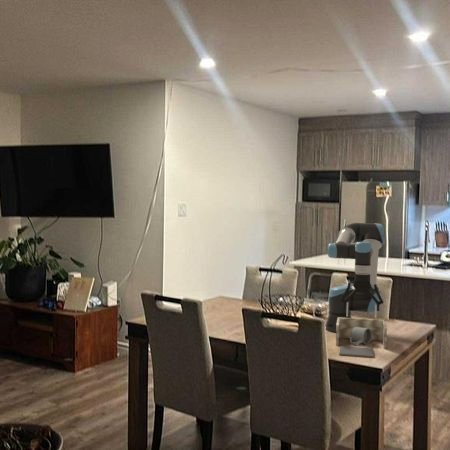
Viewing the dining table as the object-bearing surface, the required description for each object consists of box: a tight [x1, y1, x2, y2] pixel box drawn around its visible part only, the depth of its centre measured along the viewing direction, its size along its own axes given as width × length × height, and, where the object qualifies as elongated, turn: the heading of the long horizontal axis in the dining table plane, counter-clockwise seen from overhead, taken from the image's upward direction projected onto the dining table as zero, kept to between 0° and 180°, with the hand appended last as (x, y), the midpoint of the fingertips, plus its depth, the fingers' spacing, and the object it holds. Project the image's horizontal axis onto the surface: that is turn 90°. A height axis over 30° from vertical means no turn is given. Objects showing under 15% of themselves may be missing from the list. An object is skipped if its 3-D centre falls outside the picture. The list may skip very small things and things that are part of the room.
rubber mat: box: [339, 345, 375, 359], centre depth 261 cm, size 15×13×1 cm
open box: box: [335, 317, 388, 350], centre depth 278 cm, size 23×17×10 cm
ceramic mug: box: [349, 327, 372, 346], centre depth 278 cm, size 11×8×8 cm
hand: (361, 316), depth 277 cm, fingers open, 13 cm apart
